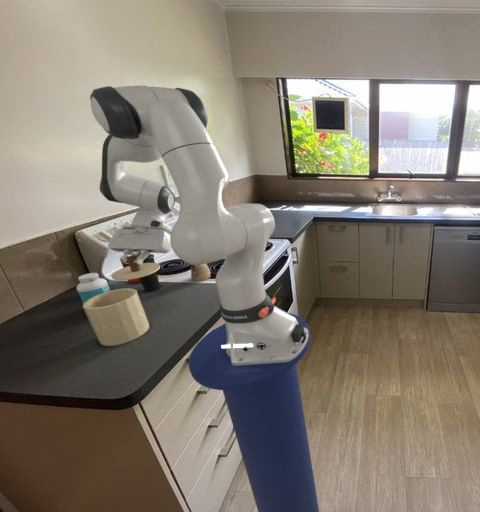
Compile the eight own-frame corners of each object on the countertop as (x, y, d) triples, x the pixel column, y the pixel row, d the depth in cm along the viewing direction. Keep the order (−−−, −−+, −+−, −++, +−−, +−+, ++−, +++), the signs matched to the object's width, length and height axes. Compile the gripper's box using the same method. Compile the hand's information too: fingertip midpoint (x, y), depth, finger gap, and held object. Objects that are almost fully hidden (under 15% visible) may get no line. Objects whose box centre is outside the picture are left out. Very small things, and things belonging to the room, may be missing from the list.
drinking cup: (139, 288, 114) (121, 241, 107) (162, 282, 119) (146, 236, 112) (142, 295, 109) (123, 246, 102) (166, 288, 114) (150, 241, 107)
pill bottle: (118, 310, 100) (103, 275, 95) (88, 319, 95) (71, 282, 90) (116, 302, 105) (102, 268, 100) (88, 310, 100) (72, 275, 95)
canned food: (139, 275, 125) (130, 252, 121) (156, 275, 125) (148, 252, 121) (123, 283, 118) (114, 259, 114) (142, 284, 118) (133, 259, 114)
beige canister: (158, 323, 93) (146, 289, 88) (125, 347, 82) (109, 309, 77) (126, 321, 94) (112, 287, 89) (89, 344, 83) (70, 307, 78)
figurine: (196, 275, 126) (189, 249, 121) (213, 273, 127) (207, 248, 122) (189, 282, 119) (181, 255, 115) (207, 280, 120) (200, 254, 116)
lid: (169, 266, 103) (164, 250, 100) (137, 282, 91) (131, 265, 88) (137, 265, 104) (131, 249, 101) (101, 281, 92) (94, 263, 90)
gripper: (112, 221, 99) (94, 258, 93) (167, 223, 97) (151, 261, 91) (129, 230, 104) (112, 265, 99) (181, 231, 102) (167, 267, 97)
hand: (132, 263), depth 95 cm, fingers closed on lid, 2 cm apart
